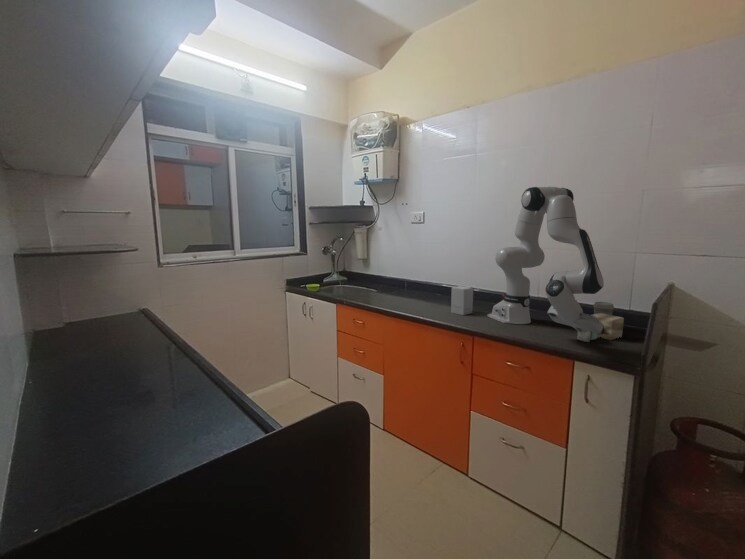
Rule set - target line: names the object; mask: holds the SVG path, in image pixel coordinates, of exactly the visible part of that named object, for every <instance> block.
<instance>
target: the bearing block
mask: <svg viewBox="0 0 745 559" xmlns="http://www.w3.org/2000/svg"><path fill="white" fill-rule="evenodd" d="M592 315H593V316H595V317H597V318H598V319H599V320H600V321H601V323H602V324H603V325H604V333H601V334H597V338H600V337H601V339H605V340H609V341H613V340H616V338H617V339H619V337H620V338H622V337H623V330H624V322H625V321H624V320H625V318H624V317H622V316H616V315H613V314H612V315H608V314H603V313H597V314H594V313H592Z"/></svg>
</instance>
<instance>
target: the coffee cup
mask: <svg viewBox="0 0 745 559" xmlns="http://www.w3.org/2000/svg"><path fill="white" fill-rule="evenodd" d="M592 307H593V314H597V313H603V314H608V315H613V312H614V310H615V306H614V303H611V302H607V301H595V302H594V303H593V306H592Z"/></svg>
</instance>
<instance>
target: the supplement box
mask: <svg viewBox="0 0 745 559" xmlns="http://www.w3.org/2000/svg"><path fill="white" fill-rule="evenodd" d="M450 295H451V300H450V302H451V303H450V304H451V305H450V306H451V308H450V312H451V314H456V315H460V316H465V315H468V314H469V315H470V314H472V313H473V306H474V305H473V303H474V302H473V300H474V287H471V286H466V285H464V286H463V285H458V286H453V287H451V294H450Z"/></svg>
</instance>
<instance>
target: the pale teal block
mask: <svg viewBox="0 0 745 559" xmlns="http://www.w3.org/2000/svg"><path fill="white" fill-rule="evenodd" d="M596 339H598V337H597V333H595V332H591V337H590V341H593V340H596Z"/></svg>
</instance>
